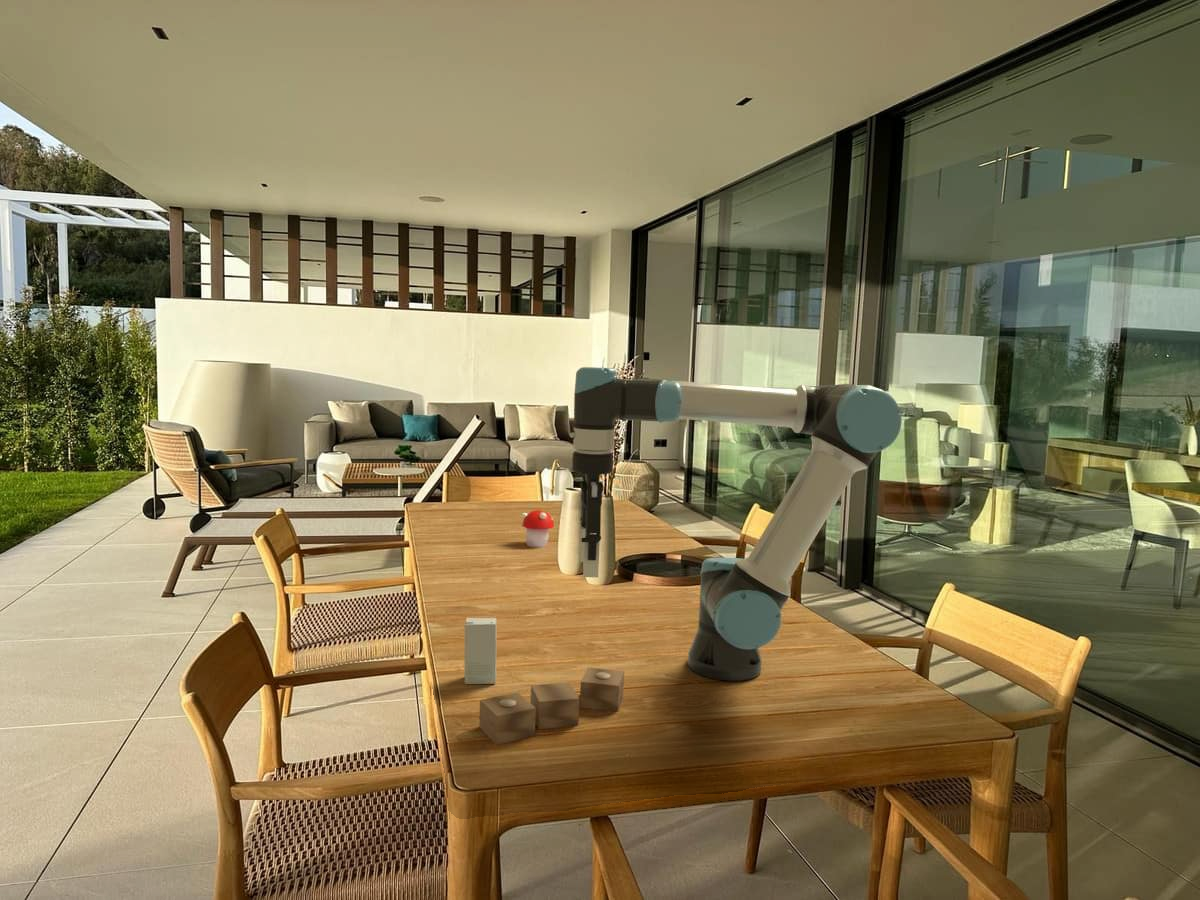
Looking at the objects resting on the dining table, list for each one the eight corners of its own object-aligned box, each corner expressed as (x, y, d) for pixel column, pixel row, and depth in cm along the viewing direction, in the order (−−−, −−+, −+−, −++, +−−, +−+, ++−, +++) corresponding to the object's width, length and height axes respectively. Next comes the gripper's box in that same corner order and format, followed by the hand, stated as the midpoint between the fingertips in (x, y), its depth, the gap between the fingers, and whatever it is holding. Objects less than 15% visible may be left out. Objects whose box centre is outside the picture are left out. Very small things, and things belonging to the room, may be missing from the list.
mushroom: (518, 541, 272) (519, 507, 271) (549, 540, 275) (550, 506, 274) (524, 549, 262) (525, 513, 261) (557, 548, 265) (558, 512, 264)
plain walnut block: (568, 708, 145) (569, 682, 144) (578, 726, 138) (579, 698, 137) (530, 712, 143) (531, 685, 142) (538, 729, 136) (539, 701, 135)
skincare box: (496, 676, 158) (498, 616, 156) (495, 685, 153) (497, 624, 152) (464, 676, 157) (466, 616, 156) (463, 685, 152) (464, 623, 151)
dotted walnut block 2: (623, 696, 151) (624, 670, 150) (617, 712, 144) (619, 684, 143) (586, 692, 152) (587, 666, 151) (579, 708, 145) (580, 680, 144)
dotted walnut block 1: (516, 719, 139) (517, 691, 139) (534, 736, 134) (535, 706, 133) (479, 728, 136) (480, 698, 135) (496, 745, 130) (497, 715, 129)
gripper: (570, 444, 158) (566, 553, 161) (575, 458, 136) (571, 585, 138) (607, 445, 159) (603, 554, 161) (619, 459, 136) (614, 586, 139)
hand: (588, 568), depth 150 cm, fingers open, 10 cm apart
